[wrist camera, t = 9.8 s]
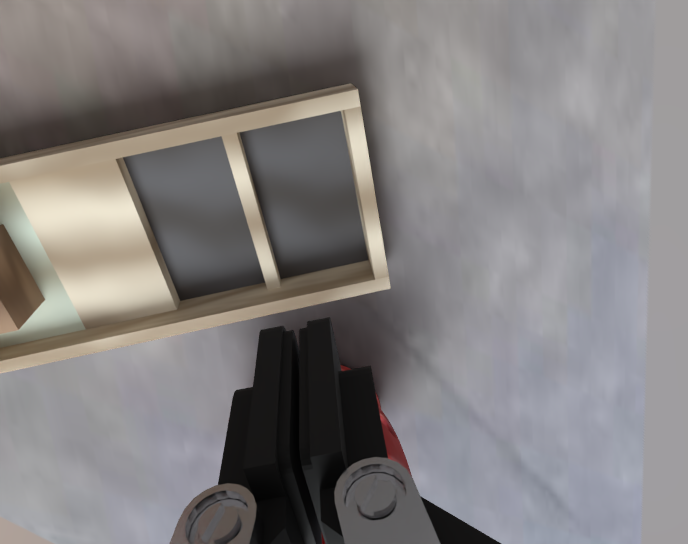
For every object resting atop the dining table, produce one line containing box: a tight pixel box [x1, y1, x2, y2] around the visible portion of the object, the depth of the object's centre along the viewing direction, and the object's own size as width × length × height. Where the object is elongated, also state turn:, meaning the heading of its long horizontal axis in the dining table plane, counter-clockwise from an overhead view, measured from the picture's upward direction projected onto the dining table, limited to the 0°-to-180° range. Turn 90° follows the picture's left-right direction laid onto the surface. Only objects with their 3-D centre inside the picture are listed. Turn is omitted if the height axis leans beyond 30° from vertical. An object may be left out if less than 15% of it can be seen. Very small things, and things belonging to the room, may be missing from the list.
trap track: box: [0, 83, 391, 373], centre depth 34 cm, size 14×32×4 cm, turn 101°
